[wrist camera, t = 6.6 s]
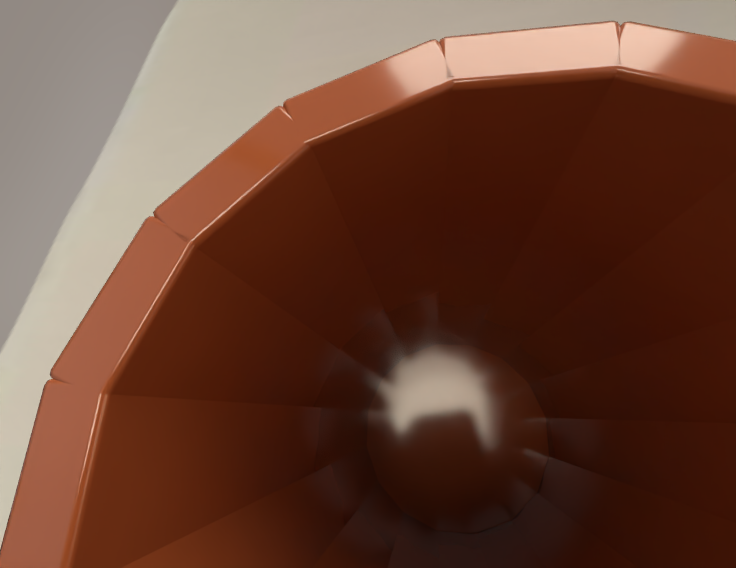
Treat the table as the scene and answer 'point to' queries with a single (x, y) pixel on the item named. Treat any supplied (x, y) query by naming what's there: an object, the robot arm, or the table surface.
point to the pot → (421, 328)
